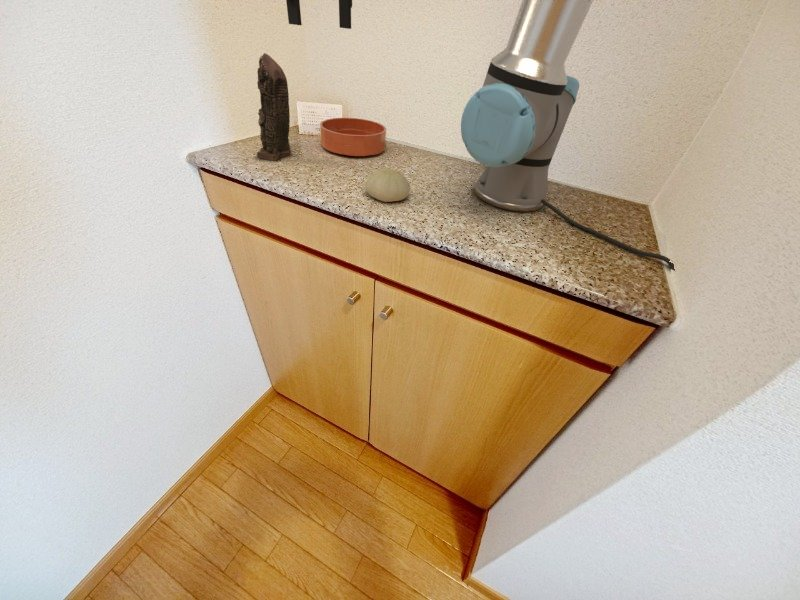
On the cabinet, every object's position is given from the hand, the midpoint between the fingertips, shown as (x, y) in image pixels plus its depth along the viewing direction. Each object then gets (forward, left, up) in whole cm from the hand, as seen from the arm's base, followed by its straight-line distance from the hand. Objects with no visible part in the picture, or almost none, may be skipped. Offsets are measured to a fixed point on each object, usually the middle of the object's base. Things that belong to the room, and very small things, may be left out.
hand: (322, 26), depth 65 cm
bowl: (+1, -10, -25) cm, 27 cm away
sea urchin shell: (-25, +6, -25) cm, 36 cm away
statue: (+7, +10, -25) cm, 28 cm away
